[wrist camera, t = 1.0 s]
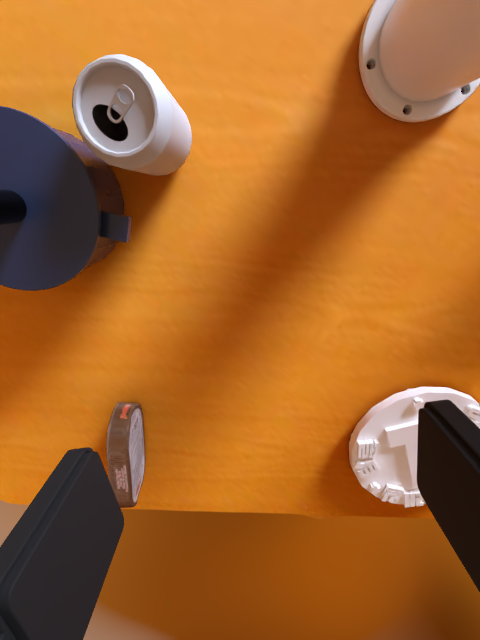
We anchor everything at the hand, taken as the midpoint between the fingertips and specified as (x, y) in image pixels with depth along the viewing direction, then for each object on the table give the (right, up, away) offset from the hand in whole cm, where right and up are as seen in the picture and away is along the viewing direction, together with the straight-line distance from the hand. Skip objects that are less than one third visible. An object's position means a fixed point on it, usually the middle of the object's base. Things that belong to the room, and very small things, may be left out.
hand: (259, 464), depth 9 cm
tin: (-16, -12, +39) cm, 44 cm away
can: (-9, +23, +25) cm, 35 cm away
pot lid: (-21, +15, +20) cm, 33 cm away
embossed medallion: (+25, -13, +38) cm, 48 cm away
